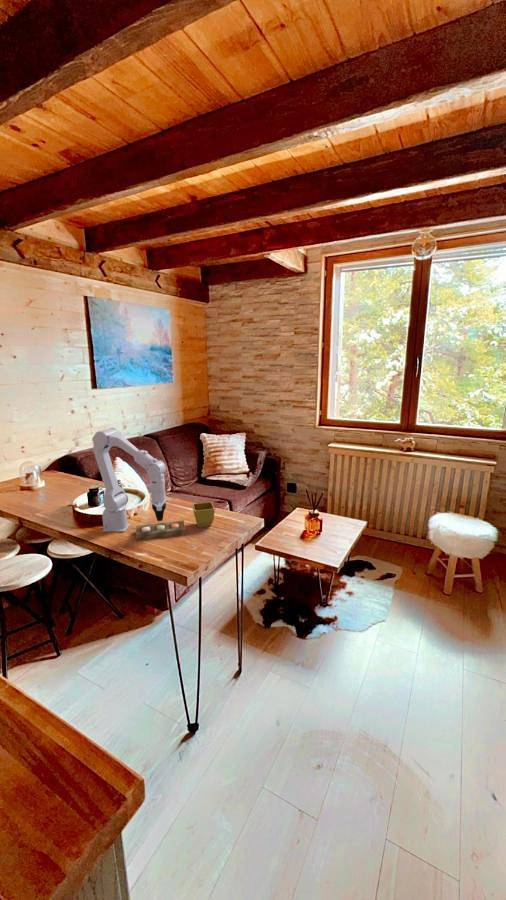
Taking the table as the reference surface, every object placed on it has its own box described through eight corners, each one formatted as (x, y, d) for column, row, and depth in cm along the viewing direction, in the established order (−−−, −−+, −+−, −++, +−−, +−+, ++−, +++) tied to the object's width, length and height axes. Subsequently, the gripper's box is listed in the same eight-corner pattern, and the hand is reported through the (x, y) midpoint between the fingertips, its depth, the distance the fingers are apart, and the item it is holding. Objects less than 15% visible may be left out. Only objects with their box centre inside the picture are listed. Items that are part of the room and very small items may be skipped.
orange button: (171, 532, 160) (170, 527, 160) (170, 529, 164) (170, 523, 163) (179, 531, 161) (179, 526, 161) (179, 528, 165) (178, 523, 164)
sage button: (156, 534, 159) (156, 529, 158) (156, 530, 162) (156, 525, 162) (165, 533, 160) (165, 528, 159) (165, 529, 163) (164, 524, 163)
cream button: (141, 536, 157) (141, 530, 157) (142, 532, 161) (141, 527, 160) (150, 535, 158) (150, 529, 158) (150, 531, 162) (150, 526, 161)
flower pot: (195, 530, 164) (194, 510, 162) (193, 522, 172) (192, 503, 170) (215, 527, 166) (214, 508, 164) (212, 519, 174) (211, 501, 172)
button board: (136, 540, 154) (135, 535, 154) (136, 531, 163) (136, 525, 162) (185, 534, 159) (185, 529, 159) (183, 525, 168) (183, 520, 167)
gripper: (168, 495, 151) (170, 526, 154) (167, 483, 164) (168, 512, 168) (150, 496, 149) (152, 528, 152) (150, 485, 163) (152, 514, 166)
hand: (159, 520), depth 160 cm, fingers closed
